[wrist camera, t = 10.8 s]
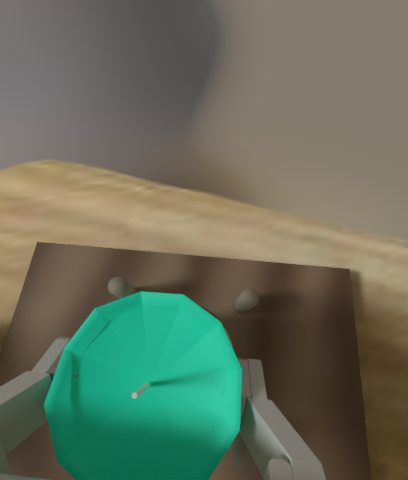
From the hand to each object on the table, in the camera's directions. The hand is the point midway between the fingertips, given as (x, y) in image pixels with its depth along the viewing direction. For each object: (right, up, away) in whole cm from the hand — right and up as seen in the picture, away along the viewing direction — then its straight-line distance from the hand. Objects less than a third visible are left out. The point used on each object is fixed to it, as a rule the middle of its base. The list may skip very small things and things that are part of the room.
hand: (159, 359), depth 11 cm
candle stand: (0, -5, +11) cm, 11 cm away
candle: (0, -4, +8) cm, 8 cm away
